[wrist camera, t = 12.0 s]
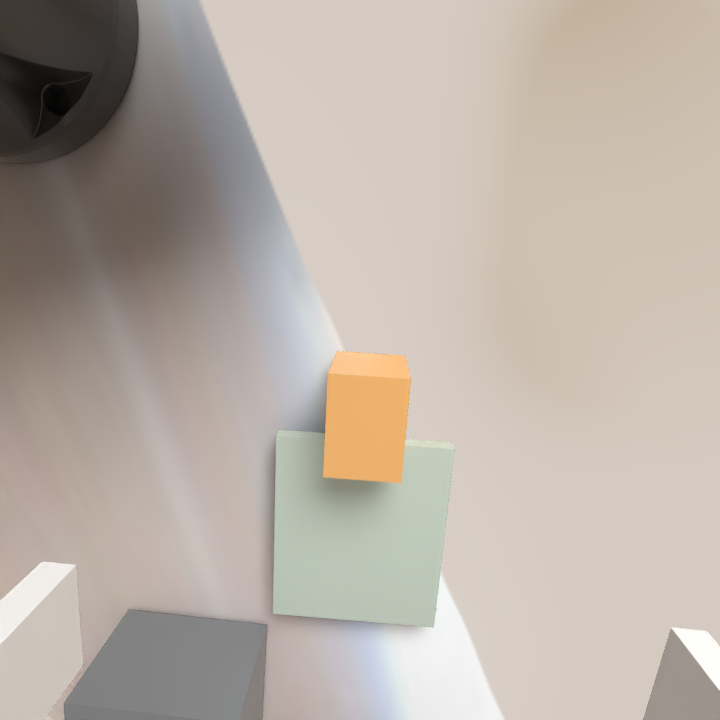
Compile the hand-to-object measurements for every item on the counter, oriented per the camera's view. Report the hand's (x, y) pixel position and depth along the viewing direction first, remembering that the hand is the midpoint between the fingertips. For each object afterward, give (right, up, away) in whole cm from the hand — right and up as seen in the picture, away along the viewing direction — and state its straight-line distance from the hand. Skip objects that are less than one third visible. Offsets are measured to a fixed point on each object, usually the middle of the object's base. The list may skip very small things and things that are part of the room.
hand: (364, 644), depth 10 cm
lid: (0, -2, +20) cm, 20 cm away
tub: (-12, -18, +24) cm, 32 cm away
